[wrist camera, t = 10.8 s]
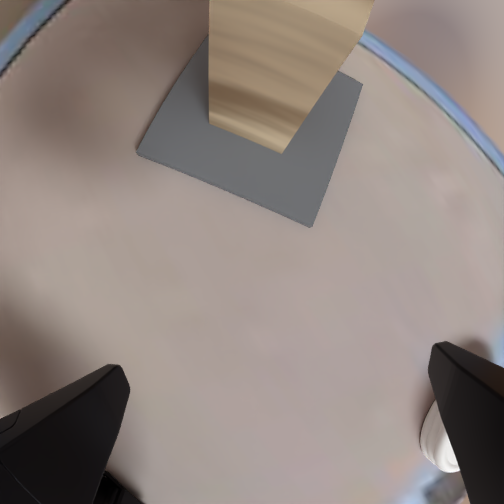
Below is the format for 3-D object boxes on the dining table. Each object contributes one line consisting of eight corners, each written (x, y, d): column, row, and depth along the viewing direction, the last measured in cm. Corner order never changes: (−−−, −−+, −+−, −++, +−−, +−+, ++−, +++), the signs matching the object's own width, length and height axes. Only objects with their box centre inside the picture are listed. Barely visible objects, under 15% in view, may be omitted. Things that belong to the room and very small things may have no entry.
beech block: (281, 154, 19) (361, 36, 7) (209, 123, 19) (210, -21, 7) (307, 95, 20) (383, -27, 8) (240, 67, 19) (267, -72, 7)
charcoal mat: (309, 227, 20) (312, 226, 19) (138, 155, 19) (135, 152, 18) (359, 87, 21) (363, 84, 20) (216, 27, 20) (217, 23, 19)
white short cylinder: (426, 381, 21) (452, 395, 18) (497, 354, 22) (521, 361, 19) (409, 471, 21) (427, 490, 17) (479, 437, 22) (499, 449, 19)
